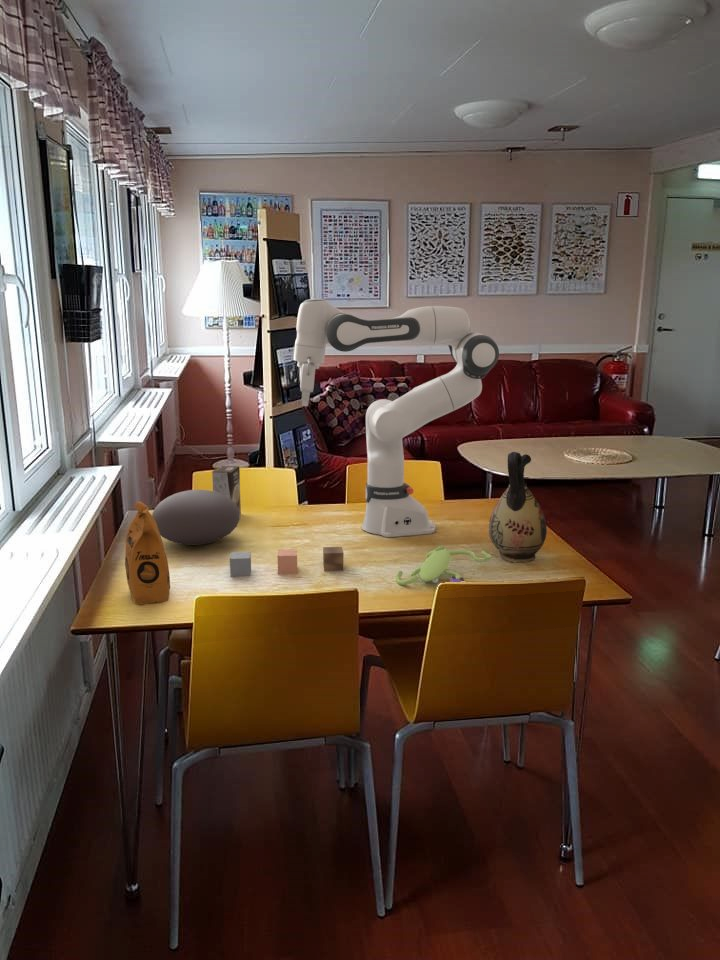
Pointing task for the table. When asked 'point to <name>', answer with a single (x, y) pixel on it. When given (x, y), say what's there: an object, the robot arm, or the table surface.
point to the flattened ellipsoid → (196, 517)
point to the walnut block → (333, 558)
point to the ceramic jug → (517, 516)
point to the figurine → (439, 566)
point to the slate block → (240, 564)
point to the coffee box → (228, 483)
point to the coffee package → (146, 559)
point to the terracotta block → (287, 561)
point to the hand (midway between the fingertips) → (304, 403)
